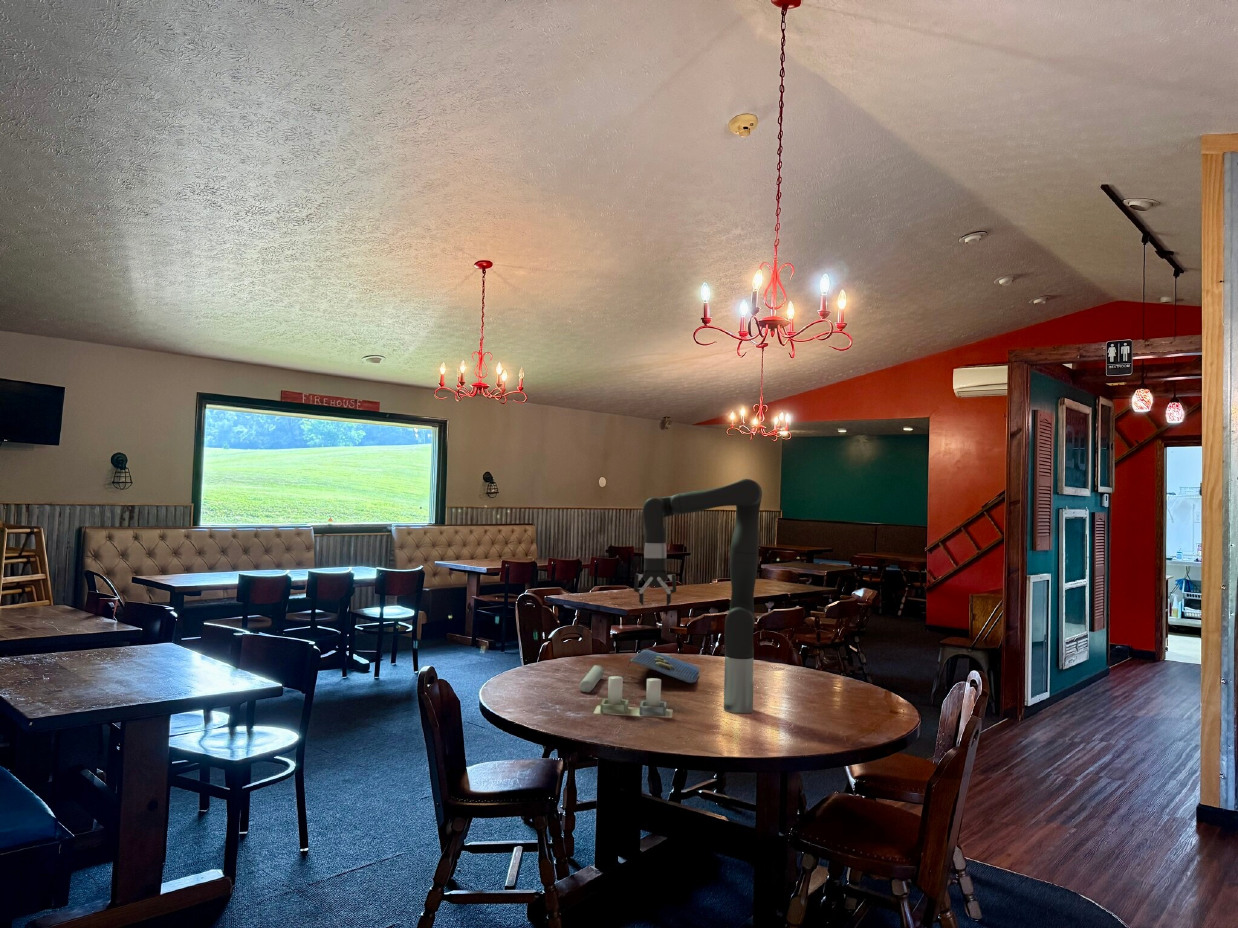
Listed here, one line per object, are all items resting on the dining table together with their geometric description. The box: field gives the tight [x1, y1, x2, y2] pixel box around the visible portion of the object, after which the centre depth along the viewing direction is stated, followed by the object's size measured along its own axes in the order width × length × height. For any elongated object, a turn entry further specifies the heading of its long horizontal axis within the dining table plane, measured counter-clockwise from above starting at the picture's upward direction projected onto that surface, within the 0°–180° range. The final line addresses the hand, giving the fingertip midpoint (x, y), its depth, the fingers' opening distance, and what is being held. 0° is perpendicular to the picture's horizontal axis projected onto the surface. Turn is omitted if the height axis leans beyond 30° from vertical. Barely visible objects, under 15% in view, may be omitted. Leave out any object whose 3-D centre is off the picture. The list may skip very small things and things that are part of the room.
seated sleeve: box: [645, 677, 662, 707], centre depth 251 cm, size 5×5×10 cm
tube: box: [579, 664, 605, 693], centre depth 292 cm, size 5×5×25 cm
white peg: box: [607, 675, 624, 705], centre depth 252 cm, size 5×5×10 cm
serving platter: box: [621, 649, 700, 684], centre depth 313 cm, size 45×27×12 cm, turn 172°
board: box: [593, 698, 674, 719], centre depth 251 cm, size 24×10×4 cm, turn 85°
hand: (655, 604), depth 272 cm, fingers open, 8 cm apart
